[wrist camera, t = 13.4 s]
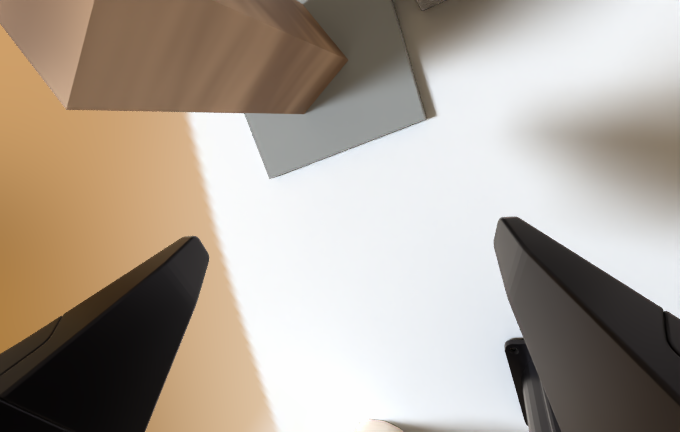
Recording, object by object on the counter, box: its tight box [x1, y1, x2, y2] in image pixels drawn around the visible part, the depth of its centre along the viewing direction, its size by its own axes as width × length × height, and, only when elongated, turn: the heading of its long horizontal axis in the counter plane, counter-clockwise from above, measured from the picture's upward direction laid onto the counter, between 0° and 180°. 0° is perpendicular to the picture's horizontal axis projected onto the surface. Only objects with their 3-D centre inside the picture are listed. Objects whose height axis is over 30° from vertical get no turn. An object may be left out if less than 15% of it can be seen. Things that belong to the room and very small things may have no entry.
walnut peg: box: [0, 0, 348, 114], centre depth 13 cm, size 4×4×13 cm
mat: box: [244, 0, 426, 179], centre depth 19 cm, size 12×12×1 cm
